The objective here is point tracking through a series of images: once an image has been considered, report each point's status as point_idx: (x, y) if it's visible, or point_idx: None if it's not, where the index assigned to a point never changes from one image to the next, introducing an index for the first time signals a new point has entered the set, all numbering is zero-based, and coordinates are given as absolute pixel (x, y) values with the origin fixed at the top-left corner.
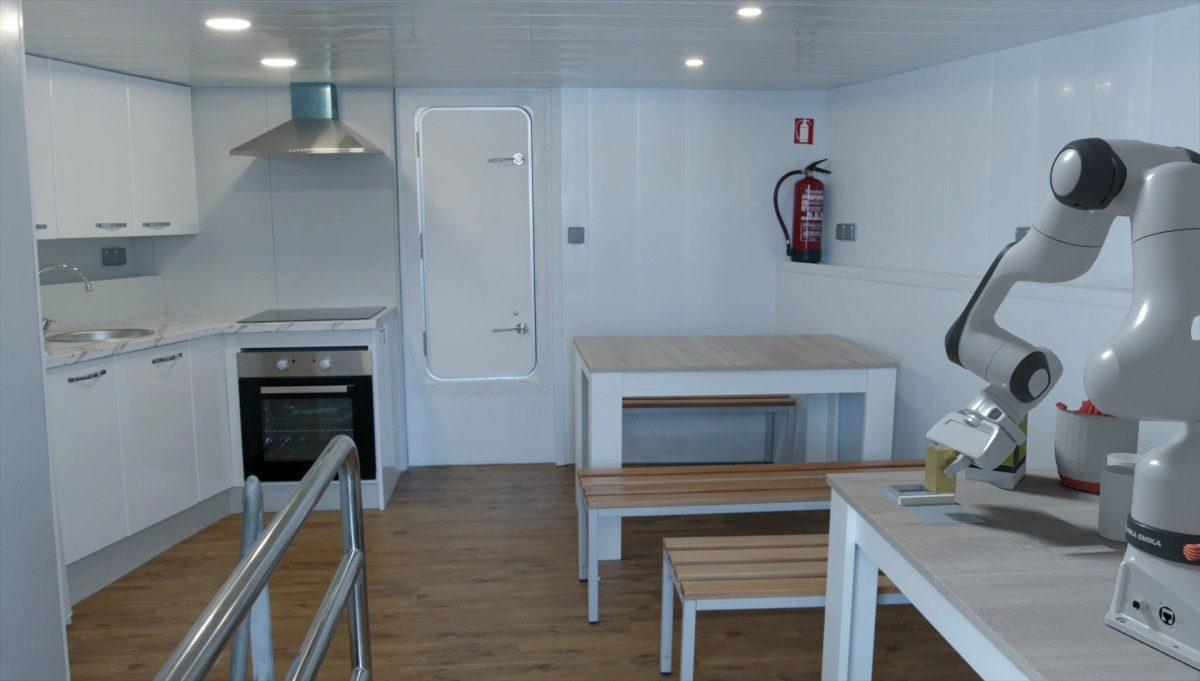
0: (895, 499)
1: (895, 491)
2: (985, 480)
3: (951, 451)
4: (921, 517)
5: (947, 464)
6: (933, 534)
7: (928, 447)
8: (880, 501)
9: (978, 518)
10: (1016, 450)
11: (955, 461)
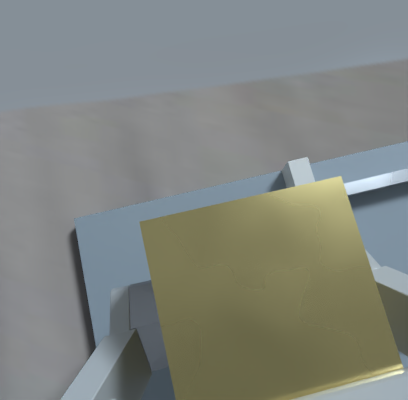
0: (350, 168)
1: (400, 170)
2: None
3: (172, 376)
4: (148, 211)
5: (155, 320)
6: (37, 226)
7: (300, 186)
8: (371, 132)
9: None
10: None
11: (92, 375)
